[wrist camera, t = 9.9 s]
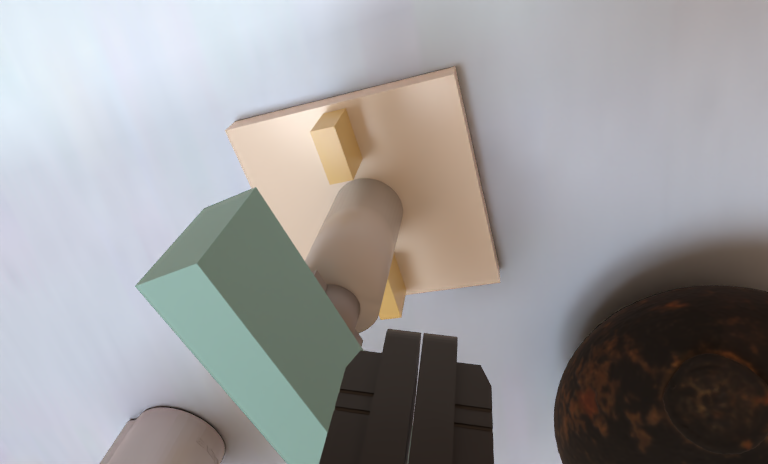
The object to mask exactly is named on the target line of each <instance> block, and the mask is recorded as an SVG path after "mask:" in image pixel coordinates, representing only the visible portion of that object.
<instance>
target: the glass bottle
mask: <svg viewBox="0 0 768 464" xmlns="http://www.w3.org/2000/svg"><path fill="white" fill-rule="evenodd" d="M554 429H555V438H556V442H557V447H558V451H559V454H560V457H561V460H562V463H563V464H768V292H765V291H761V290H755V289H750V288H742V287H732V286H696V287H687V288H682V289H675V290H671V291H667V292H664V293H660V294H657V295H654V296H651V297H648V298H645V299H642V300H640V301H638V302H636V303H634V304H631V305H629V306H627V307H625V308H623V309H621V310H620V311H618V312H616V313H615V314H613V315H612V316H611V317H609V318H608V319H607V320H605V321H604V322H603V323H602V324H600V325H599V326H598V327H597V328H596V329H595V330H594V331H593V332H592V333H591V334H590V335H589V336H588V337H587V338H586V339H585V340H584V341H583V342H582V344H581V345H580V346H579V348H578V349H577V350H576V352H575V353H574V355H573V356H572V358H571V359H570V361H569V363H568V365H567V367H566V369H565V370H564V373H563V375H562V378H561V381H560V384H559V387H558V391H557V396H556V401H555V407H554Z"/></svg>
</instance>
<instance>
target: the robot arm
mask: <svg viewBox="0 0 768 464" xmlns="http://www.w3.org/2000/svg"><path fill="white" fill-rule="evenodd" d="M420 340H421V333H418V332H410V331H401V330H393V329H388V330H387V333H386V338H385V343H384V347H383V352H382V353H377V352H369V351H361V350H360V352H359V353H358V354H357V355H356V356H355V357H354V358H353V360H352V361H351V362H350V363H349V364H348V365H347V367H346V368H345V372H344V375H343V379H342V383H341V386H340V392H339V393H338V397H337V401H336V404H335V410H334V411H333V415H332V419H331V422H330V426H329V429H328V433H327V437H326V440H325V444H324V447H323V451H322V455H321V458H320V462H319V464H494V454H493V432H492V429H493V423H492V391H491V385H490V383H489V381H488V379H487V377H486V375H485V373H484V371H483V369H482V367H481V365H474V364H466V363H458V362H457V337H453V336H444V335H436V334H428V333H424V336H423V344H422V352H421V361H420V369H419V377H418V386H417V376H418V364H419V352H420ZM416 387H417V394H416ZM415 397H416V402H415ZM414 407H415V411H414ZM413 415H414V419H413ZM412 423H413V427H412ZM411 432H412V436H411ZM410 440H411V444H410ZM409 448H410V452H409ZM224 454H225V446H224V442H223V440H222V438H221V436H220V435H219V434H218V433H217V431H216V430H215V429H214V428H213V427H211V426H210V425H209V424H208V423H206V422H205V421H203V420H202V419H200V418H199V417H197V416H194V415H192V414H190V413H188V412H185V411H182V410H178V409H173V408H164V407H160V408H152V409H149V410H146V411H144V412H143V413H141V414H140V416H139V417H138V418H137V419H136V420H131V421H128V422H127V424H126V425H125V426H124V428H123V429H122V431H121V432H120V434H119V435H118V437H117V438H116V440H115V441H114V443H113V444H112V446H111V447H110V449H109V450H108V452H107V453H106V455H105V456H104V458H103V459H102V461H101V462H100V464H220V463H221V461H222V459H223V456H224ZM408 456H409V460H408Z"/></svg>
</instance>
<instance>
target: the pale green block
mask: <svg viewBox="0 0 768 464" xmlns="http://www.w3.org/2000/svg"><path fill="white" fill-rule="evenodd" d="M135 287H136V288H137V289H138V290H139V291H140V293H141V294H142V295H143V296H144V297H145V298H146V300H147V301H148V302H149V303H150V304H151V305H152V307H153V308H154V309H155V310H156V311H157V312H158V314H159V315H160V316H161V317H162V318H163V319H164V321H165V322H166V323H167V324H168V325H169V326H170V328H171V329H172V330H173V331H174V332H175V333H176V335H177V336H178V337H179V338H180V339H181V340H182V342H183V343H184V344H185V345H186V346H187V347H188V349H189V350H190V351H191V352H192V353H193V354H194V356H195V357H196V358H197V359H198V360H199V361H200V363H201V364H202V365H203V366H204V367H205V368H206V370H207V371H208V372H209V373H210V374H211V375H212V377H213V378H214V379H215V380H216V381H217V382H218V384H219V385H220V386H221V387H222V388H223V389H224V391H225V392H226V393H227V394H228V395H229V396H230V398H231V399H232V400H233V401H234V402H235V403H236V405H237V406H238V407H239V408H240V409H241V410H242V412H243V413H244V414H245V415H246V416H247V417H248V419H249V420H250V421H251V422H252V423H253V424H254V426H255V427H256V428H257V429H258V430H259V431H260V433H261V434H262V435H263V436H264V437H265V438H266V440H267V441H268V442H269V443H270V444H271V445H272V447H273V448H274V449H275V450H276V451H277V452H278V454H279V455H280V456H281V457H282V458H283V459H284V461H285V462H286V463H287V464H319V462H320V458H321V455H322V451H323V447H324V444H325V440H326V437H327V433H328V429H329V426H330V422H331V419H332V415H333V411H334V410H335V404H336V401H337V397H338V393H339V392H340V386H341V383H342V379H343V375H344V372H345V368H346V367H347V365H348V364H349V363H350V362H351V361H352V360H353V358H354V357H355V356H356V355H357V354H358V353H359V352H360V350H361V351H363V349H362V348H361V347H362V343H363V340H362V339H361V337H360V335H359V334H358V332H357V331H356V329H355V328H356V325H357V322H358V318H359V315H360V310H361V309H360V303H359V301H358V299H357V298H356V296H355V295H354V294H353V293H352V292H351V291H349V290H348V289H346V288H344V287H341V286H338V285H333V284H326V283H325V282H324V280H323V279H322V277H321V275H320V274H319V272H318V271H317V270H315V271H311V270H310V268H309V267H308V265H307V264H306V262H305V261H304V259H303V258H302V256H301V255H300V253H299V252H298V250H297V249H296V247H295V246H294V244H293V242H292V241H291V239H290V238H289V236H288V235H287V233H286V232H285V230H284V229H283V227H282V226H281V224H280V223H279V221H278V220H277V218H276V217H275V215H274V214H273V212H272V211H271V209H270V207H269V206H268V204H267V203H266V201H265V200H264V198H263V197H262V195H261V194H260V192H259V191H258V189H257V188H256V187H255V188H252V189H250V190H247V191H245V192H243V193H240V194H238V195H235V196H233V197H231V198H228V199H226V200H223V201H221V202H219V203H216V204H214V205H211V206H209V207H207V208H204V209H203V210H202V211H201V212H200V214H199V215H198V216H197V217H196V218H195V219H194V220H193V221H192V223H191V224H190V225H189V226H188V227H187V228H186V229H185V230H184V232H183V233H182V234H181V235H180V236H179V237H178V238H177V239H176V241H175V242H174V243H173V244H172V245H171V246H170V247H169V248H168V250H167V251H166V252H165V253H164V254H163V255H162V256H161V258H160V259H159V260H158V261H157V262H156V263H155V264H154V265H153V267H152V268H151V269H150V270H149V271H148V272H147V273H146V274H145V276H144V277H143V278H142V279H141V280H140V281H139V282H138V283H137V285H136V286H135ZM412 427H413V425H412ZM411 436H412V432H411ZM410 444H411V440H410ZM409 452H410V448H409ZM408 460H409V456H408Z"/></svg>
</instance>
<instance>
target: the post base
mask: <svg viewBox="0 0 768 464" xmlns="http://www.w3.org/2000/svg"><path fill="white" fill-rule="evenodd" d="M225 131H226V134H227V136H228V138H229V140H230V142H231V145H232V147H233V149H234V151H235V153H236V155H237V158H238V160H239V162H240V164H241V166H242V168H243V171H244V173H245V175H246V177H247V179H248V182H249V184H250V186H251V188H255V187H256V188H257V189H258V191H259V192H260V194H261V195H262V197H263V198H264V200H265V201H266V203H267V204H268V206H269V207H270V209H271V211H272V212H273V214H274V215H275V217H276V218H277V220H278V221H279V223H280V224H281V226H282V227H283V229H284V230H285V232H286V233H287V235H288V236H289V238H290V239H291V241H292V242H293V244H294V246H295V247H296V249H297V250H298V252H299V253H300V255H301V256H302V258H303V259H304V261H305V262H306V264H307V265H308V267H309V268H310V270H311V271H315V270H317V271H318V272H319V274H320V275H321V277H322V279H323V280H324V282H325V283H326V284H333V285H338V286H341V287H344V288H346V289H348V290H349V291H351V292H352V293H353V294H354V295H355V296H356V298H357V299H358V301H359V303H360V309H361V310H360V315H359V318H358V322H357V325H356V328H355V329H356V331H357V332H358V333H360V332H363V331H365V330H366V329H368V328H369V327H371V326H372V325H373V324H374V323H375V321H376V320H377V318H378V315H379V317H380V319H381V320H383V319H392V318H400V317H401V316H402V311H403V306H404V300H405V295H409V294H416V293H424V292H432V291H439V290H447V289H455V288H462V287H470V286H477V285H485V284H493V283H500V268H499V264H498V259H497V255H496V250H495V246H494V241H493V236H492V232H491V227H490V223H489V218H488V214H487V209H486V204H485V200H484V195H483V191H482V186H481V182H480V177H479V173H478V168H477V163H476V159H475V154H474V150H473V145H472V141H471V136H470V131H469V127H468V122H467V118H466V113H465V109H464V104H463V99H462V95H461V90H460V86H459V81H458V77H457V72H456V67H451V68H447V69H443V70H439V71H435V72H431V73H427V74H423V75H419V76H415V77H411V78H407V79H403V80H399V81H395V82H391V83H387V84H383V85H379V86H375V87H371V88H367V89H363V90H359V91H355V92H351V93H347V94H343V95H339V96H335V97H331V98H327V99H323V100H319V101H315V102H311V103H307V104H303V105H299V106H295V107H291V108H287V109H283V110H279V111H275V112H271V113H267V114H263V115H259V116H255V117H251V118H247V119H243V120H239V121H235V122H234V123H233V124H232V125H231V126H229V127H228V128H227V129H226V130H225Z"/></svg>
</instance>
